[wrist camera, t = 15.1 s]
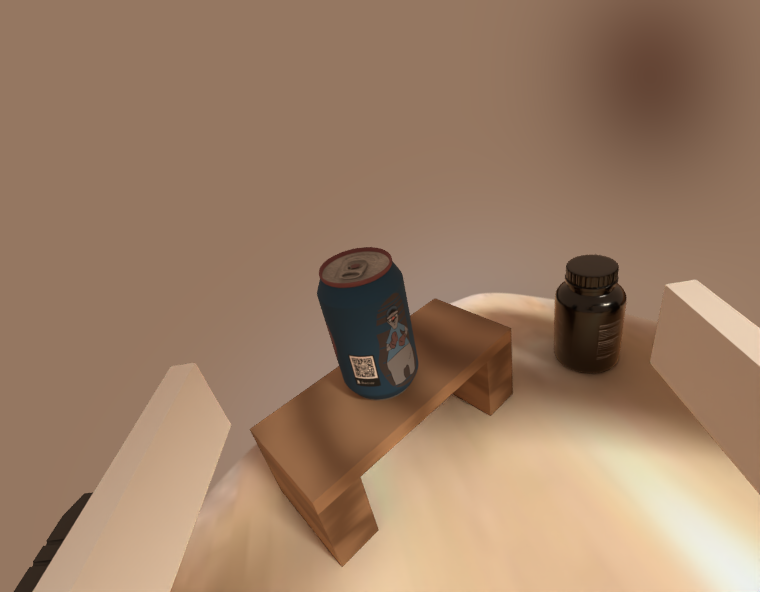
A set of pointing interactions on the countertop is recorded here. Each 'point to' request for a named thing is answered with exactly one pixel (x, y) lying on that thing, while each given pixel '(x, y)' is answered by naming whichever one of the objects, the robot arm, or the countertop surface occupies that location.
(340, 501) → the bridge shelf
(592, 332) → the supplement bottle
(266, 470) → the countertop surface
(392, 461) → the countertop surface
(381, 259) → the soda can
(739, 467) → the robot arm
